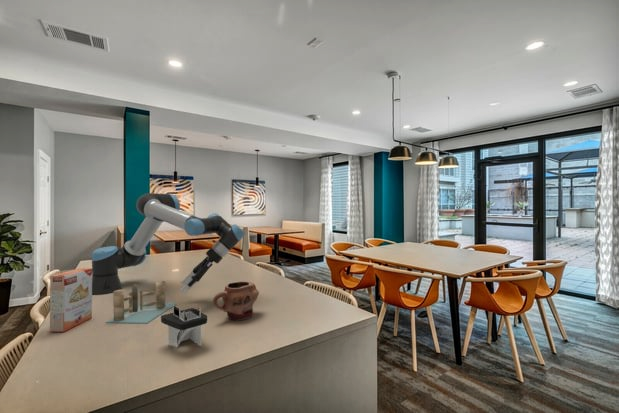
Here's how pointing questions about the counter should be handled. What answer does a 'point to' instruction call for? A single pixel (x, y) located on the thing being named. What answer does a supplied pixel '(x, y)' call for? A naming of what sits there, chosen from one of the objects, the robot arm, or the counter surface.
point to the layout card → (143, 314)
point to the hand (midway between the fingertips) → (183, 287)
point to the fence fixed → (119, 302)
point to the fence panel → (159, 296)
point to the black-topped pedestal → (184, 325)
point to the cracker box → (70, 299)
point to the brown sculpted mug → (238, 300)
